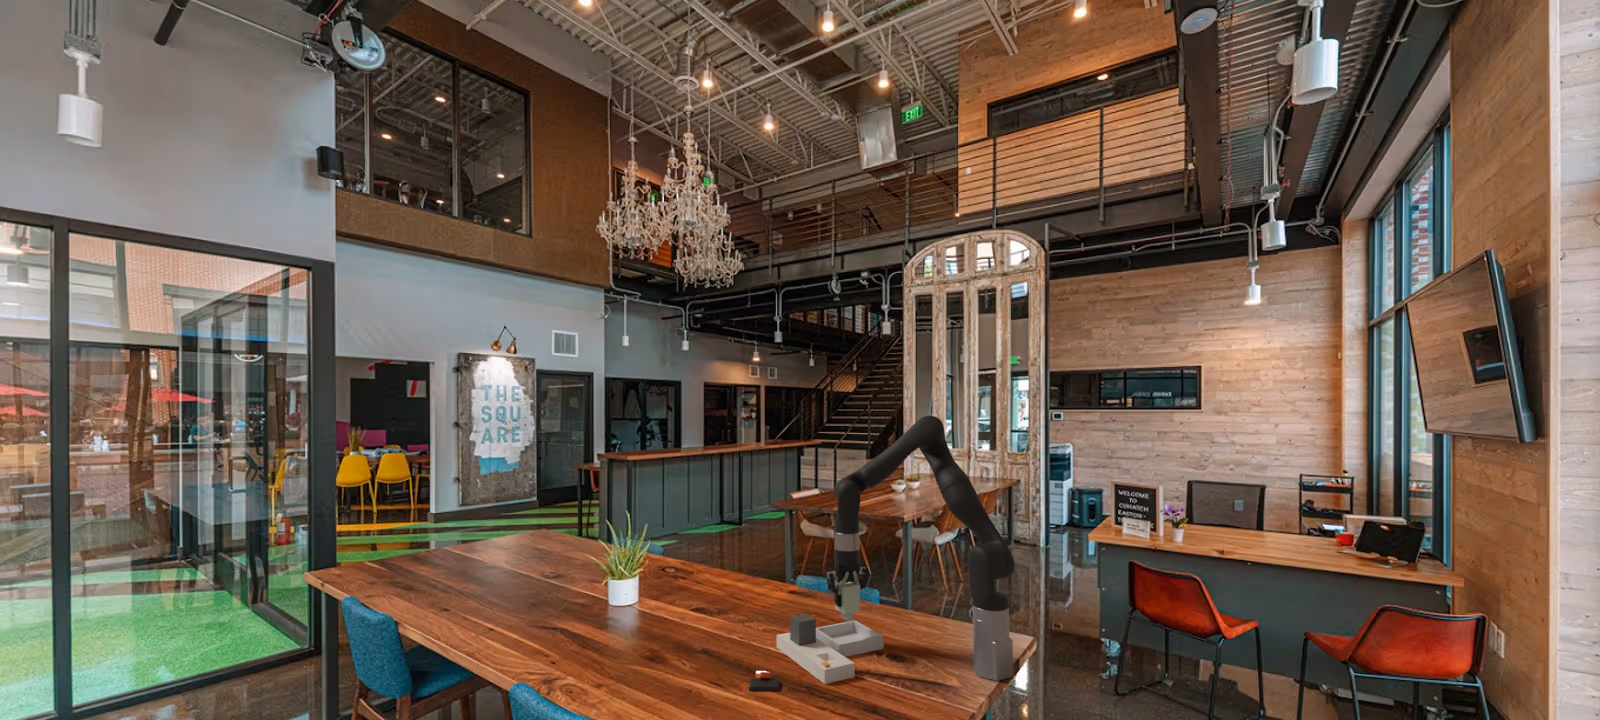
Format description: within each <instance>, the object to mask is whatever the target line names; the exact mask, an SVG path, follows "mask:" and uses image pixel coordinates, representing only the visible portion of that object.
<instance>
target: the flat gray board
mask: <svg viewBox="0 0 1600 720" xmlns="http://www.w3.org/2000/svg"><path fill="white" fill-rule="evenodd" d="M776 649H778V650H779V651H781V652H782V653H783V654H785V655H786V656H787V657H789V658H790V659H791V660H793V662H795V663H797V664H798V665H799V666H800V667H802V668H803V669H804V670H806V671H807V672H808V673H810V674H811V675H813V677H814V678H816V679H817V680H819V681H820V682H821V683H822V684H824V685H827V684H831V683H835V682H839V681H843V680H847V679H852V678H855V676H856V675H855V674H856V673H855V662H854V661H852V660H850V659H849V658H848V657H844V656H843V655H841V654H840V653H838V652H837V651H835V650H834V649H832V648H831V647H829V646H828V645H826V644H824V643H823V642H821V641H820V640H818V639H817V638H816V643H811V644H806V645H801V646H798V645H797V644H796V643H794V642H793V641H791V640H790V632H785V633H780V634H779V633H778V634H776Z"/></svg>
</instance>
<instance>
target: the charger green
mask: <svg viewBox="0 0 1600 720" xmlns="http://www.w3.org/2000/svg"><path fill="white" fill-rule="evenodd" d="M840 583H841V581H840ZM835 585H836V584H835ZM838 588H839V585H838ZM841 595H842V607H838V606H836V604H835V603H834V609H835V610H836V611H838V612H841V614H840V617H841V618H842V619H843V620H844V621H846V622H849V621H854V620H855V619H854V615H855V614H854V613H857V612H861V591H860V585H858V584H857V585H856V584H854V583H852V582H848V583H845V586H844V587H842V593H841Z"/></svg>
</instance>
